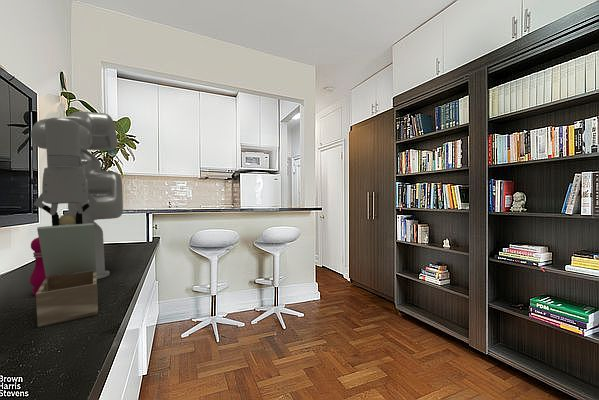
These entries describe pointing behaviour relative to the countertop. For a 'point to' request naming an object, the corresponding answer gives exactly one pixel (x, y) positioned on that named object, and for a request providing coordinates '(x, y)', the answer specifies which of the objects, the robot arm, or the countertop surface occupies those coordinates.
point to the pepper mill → (37, 267)
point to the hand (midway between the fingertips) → (68, 227)
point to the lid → (67, 247)
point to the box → (67, 298)
